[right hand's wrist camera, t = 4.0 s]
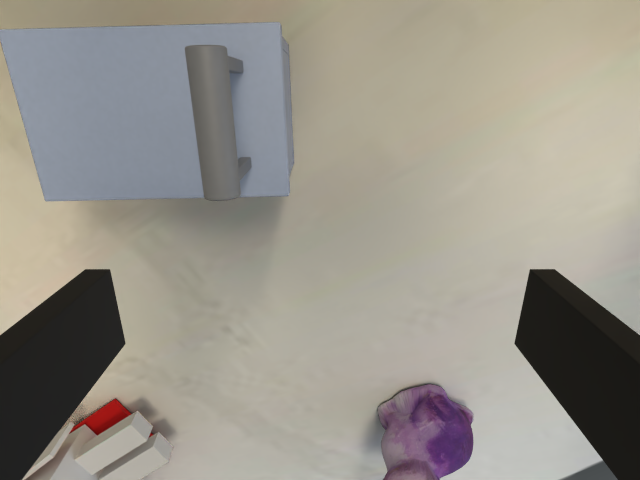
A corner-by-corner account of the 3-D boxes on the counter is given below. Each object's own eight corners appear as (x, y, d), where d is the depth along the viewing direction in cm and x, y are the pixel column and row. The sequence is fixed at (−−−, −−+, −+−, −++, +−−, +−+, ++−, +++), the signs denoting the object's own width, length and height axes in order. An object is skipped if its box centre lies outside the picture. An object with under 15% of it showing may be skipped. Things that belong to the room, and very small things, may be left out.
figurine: (359, 424, 49) (374, 561, 35) (408, 367, 45) (447, 491, 31) (420, 455, 50) (458, 596, 36) (472, 401, 47) (536, 534, 33)
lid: (281, 24, 23) (260, -8, 16) (289, 192, 27) (276, 235, 19) (10, 31, 24) (-148, 3, 16) (54, 197, 27) (-56, 242, 19)
